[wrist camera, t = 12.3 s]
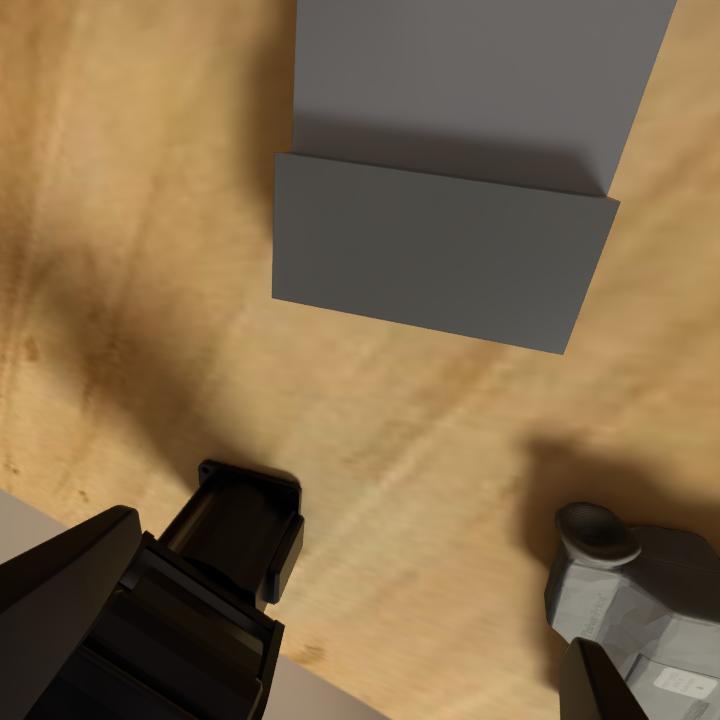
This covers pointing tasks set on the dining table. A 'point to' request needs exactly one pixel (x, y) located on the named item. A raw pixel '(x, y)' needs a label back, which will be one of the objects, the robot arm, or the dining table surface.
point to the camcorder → (641, 607)
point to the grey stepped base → (458, 158)
